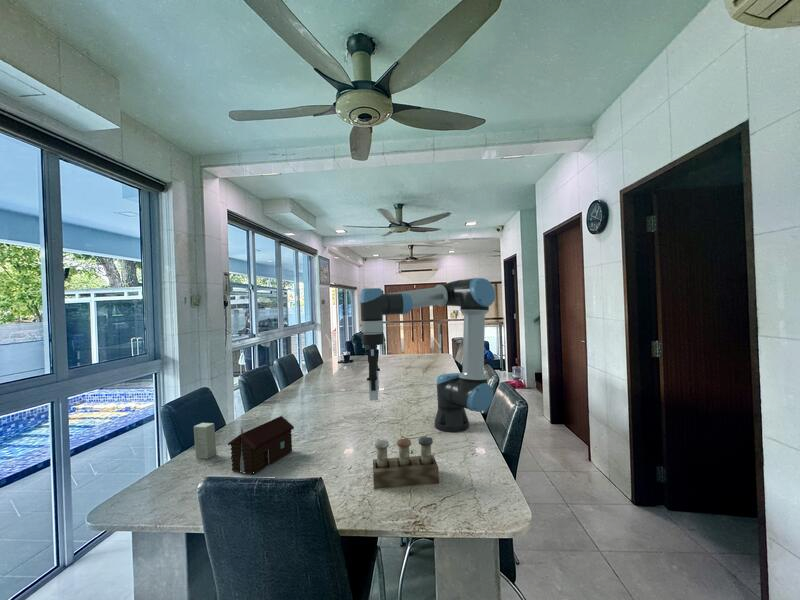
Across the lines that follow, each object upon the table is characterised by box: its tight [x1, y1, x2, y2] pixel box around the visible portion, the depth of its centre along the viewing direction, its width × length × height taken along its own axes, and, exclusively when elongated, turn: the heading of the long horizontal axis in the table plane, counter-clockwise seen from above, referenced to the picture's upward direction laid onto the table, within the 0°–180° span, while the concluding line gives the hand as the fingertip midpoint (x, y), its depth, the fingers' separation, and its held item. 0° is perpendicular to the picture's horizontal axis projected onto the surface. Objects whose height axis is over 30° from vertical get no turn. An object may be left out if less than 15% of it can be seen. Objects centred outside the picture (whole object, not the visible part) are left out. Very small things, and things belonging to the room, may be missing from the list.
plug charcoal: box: [418, 436, 433, 465], centre depth 116 cm, size 4×4×8 cm
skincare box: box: [193, 422, 217, 460], centre depth 139 cm, size 6×4×12 cm
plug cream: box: [374, 439, 390, 468], centre depth 115 cm, size 4×4×8 cm
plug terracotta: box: [396, 438, 412, 467], centre depth 115 cm, size 4×4×8 cm
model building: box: [227, 415, 295, 474], centre depth 133 cm, size 21×12×15 cm, turn 157°
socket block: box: [372, 454, 440, 490], centre depth 115 cm, size 20×9×5 cm, turn 95°
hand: (374, 394), depth 125 cm, fingers open, 13 cm apart
